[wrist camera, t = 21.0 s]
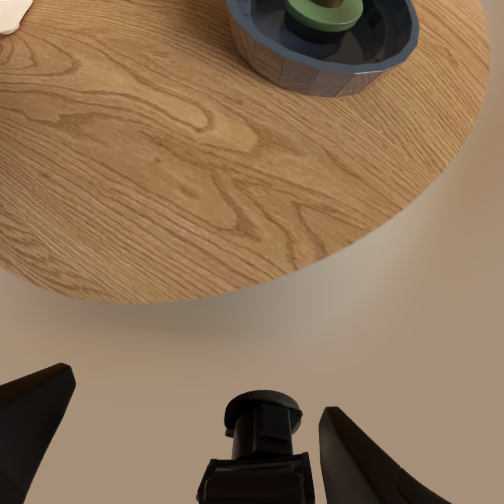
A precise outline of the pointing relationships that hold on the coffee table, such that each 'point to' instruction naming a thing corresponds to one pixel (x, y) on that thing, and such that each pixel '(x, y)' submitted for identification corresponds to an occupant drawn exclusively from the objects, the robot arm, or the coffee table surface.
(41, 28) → the coffee table surface
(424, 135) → the coffee table surface
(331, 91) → the bowl
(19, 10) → the dog bone
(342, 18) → the brush
